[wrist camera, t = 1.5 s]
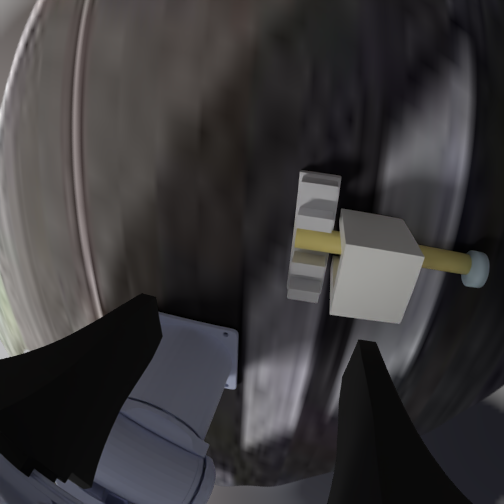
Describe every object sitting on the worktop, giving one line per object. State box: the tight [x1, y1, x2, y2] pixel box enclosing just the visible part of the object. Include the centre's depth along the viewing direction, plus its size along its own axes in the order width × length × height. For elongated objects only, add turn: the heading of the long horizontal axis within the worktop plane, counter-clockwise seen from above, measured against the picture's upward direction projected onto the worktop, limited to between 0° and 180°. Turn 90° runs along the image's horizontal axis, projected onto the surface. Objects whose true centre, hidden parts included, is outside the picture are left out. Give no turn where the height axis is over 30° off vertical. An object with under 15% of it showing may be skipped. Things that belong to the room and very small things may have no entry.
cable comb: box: [286, 170, 341, 303], centre depth 18 cm, size 2×8×2 cm, turn 177°
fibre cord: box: [294, 228, 489, 288], centre depth 17 cm, size 13×2×2 cm, turn 87°
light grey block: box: [330, 208, 425, 324], centre depth 16 cm, size 4×4×5 cm
